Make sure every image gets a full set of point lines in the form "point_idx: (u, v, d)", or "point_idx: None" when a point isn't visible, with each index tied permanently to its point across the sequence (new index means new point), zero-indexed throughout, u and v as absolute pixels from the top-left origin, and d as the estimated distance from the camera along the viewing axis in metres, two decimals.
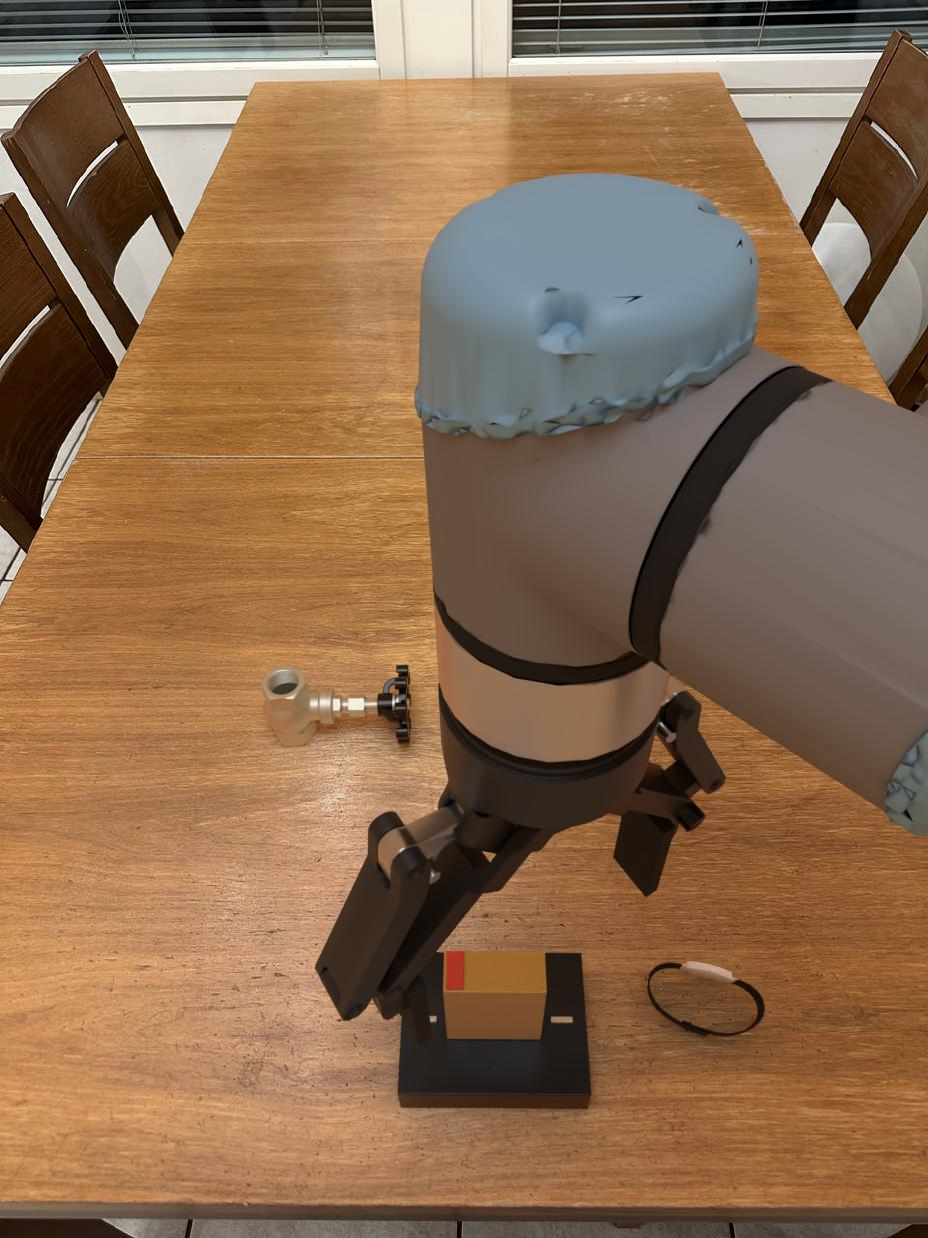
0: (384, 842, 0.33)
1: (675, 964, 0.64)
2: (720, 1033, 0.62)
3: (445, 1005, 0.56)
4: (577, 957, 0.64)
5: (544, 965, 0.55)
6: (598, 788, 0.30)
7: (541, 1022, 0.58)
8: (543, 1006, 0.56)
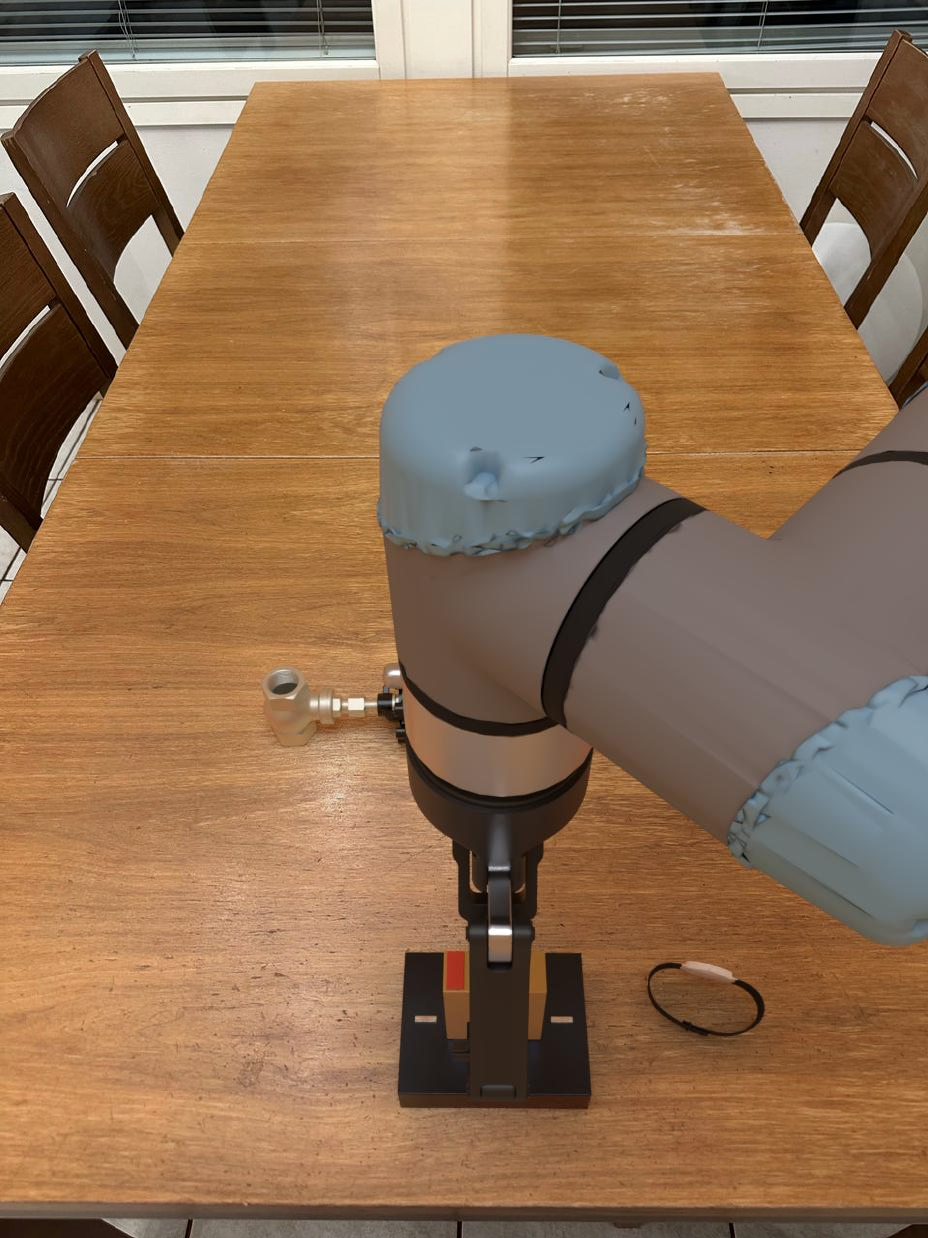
0: (493, 939, 0.36)
1: (675, 964, 0.64)
2: (720, 1033, 0.62)
3: (445, 1005, 0.56)
4: (577, 957, 0.64)
5: (544, 965, 0.55)
6: None
7: (541, 1022, 0.58)
8: (543, 1006, 0.56)
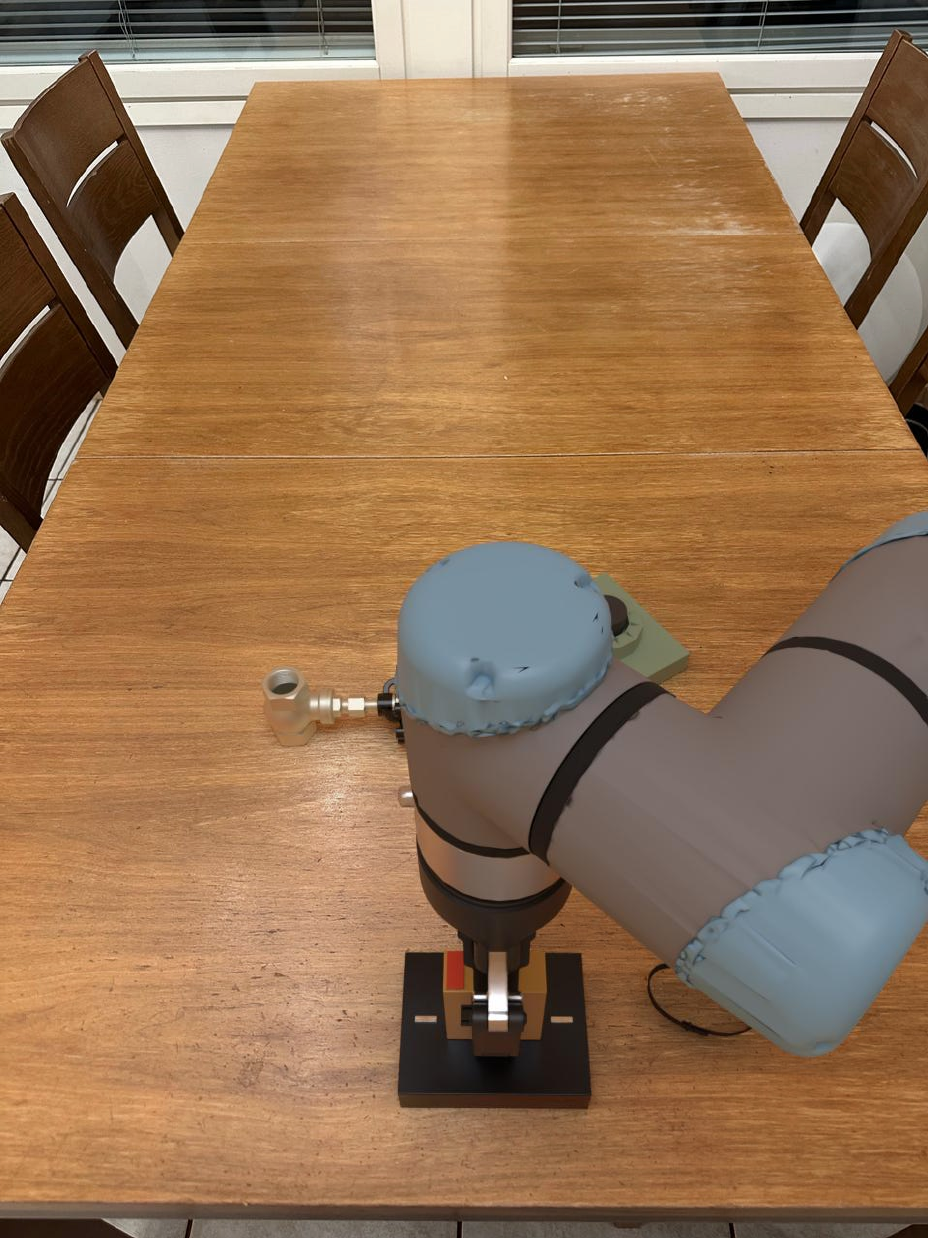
0: (492, 1029, 0.44)
1: None
2: (720, 1033, 0.62)
3: (445, 1005, 0.56)
4: (577, 957, 0.64)
5: (544, 965, 0.55)
6: None
7: (541, 1022, 0.58)
8: (543, 1006, 0.56)
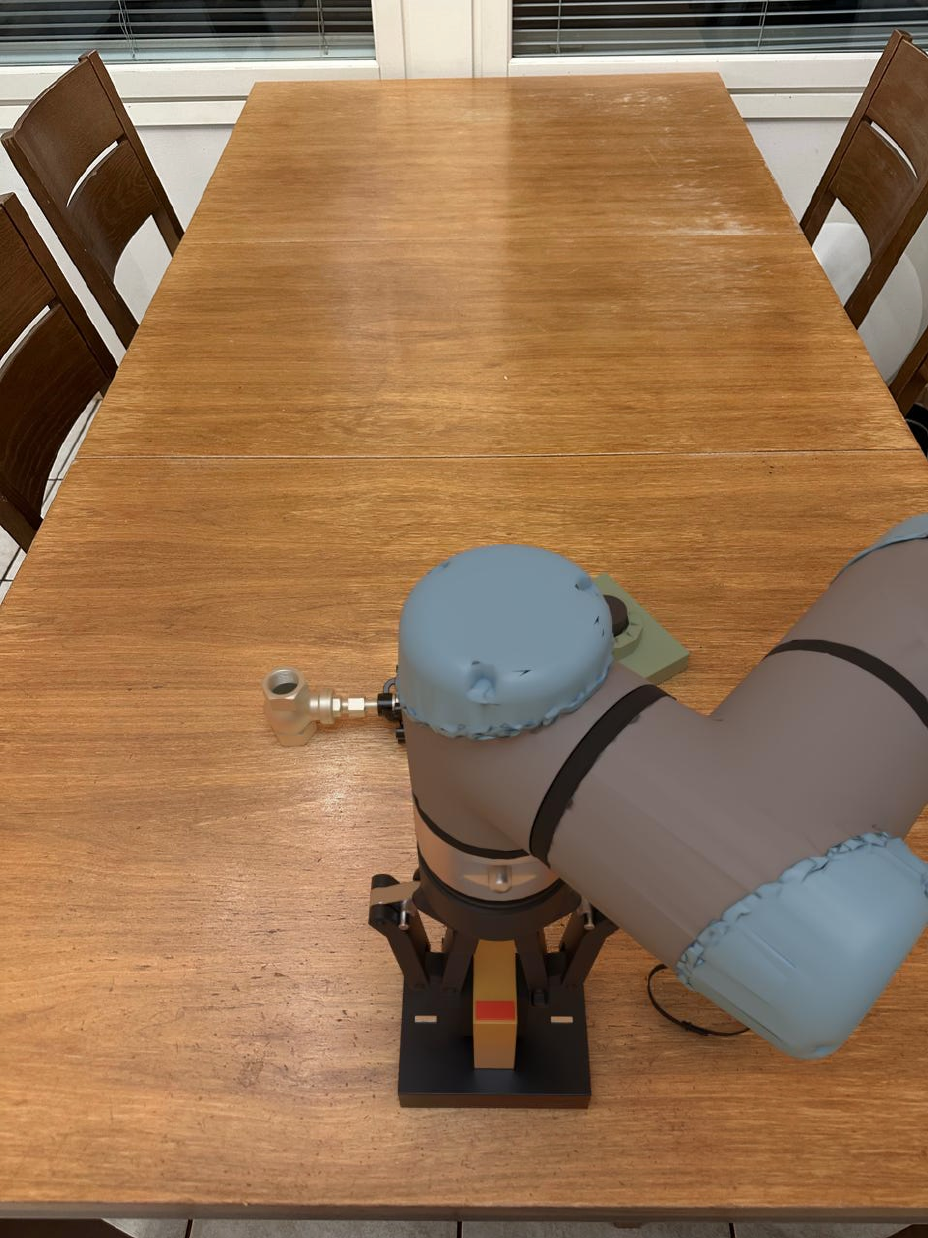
0: None
1: None
2: (720, 1033, 0.62)
3: None
4: None
5: None
6: None
7: None
8: None
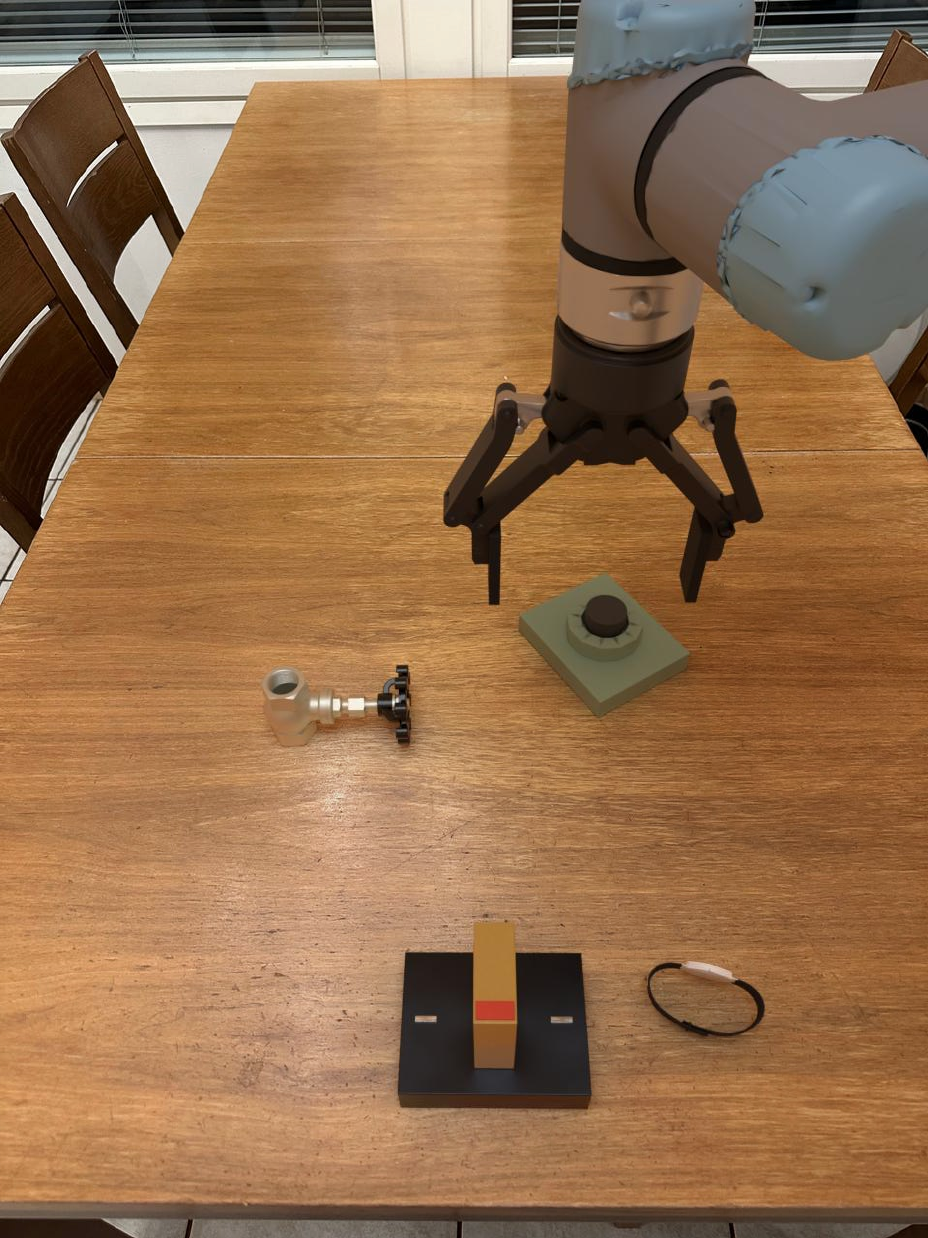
0: (731, 397, 0.54)
1: (675, 964, 0.64)
2: (720, 1033, 0.62)
3: None
4: (577, 957, 0.64)
5: (488, 923, 0.57)
6: None
7: None
8: None
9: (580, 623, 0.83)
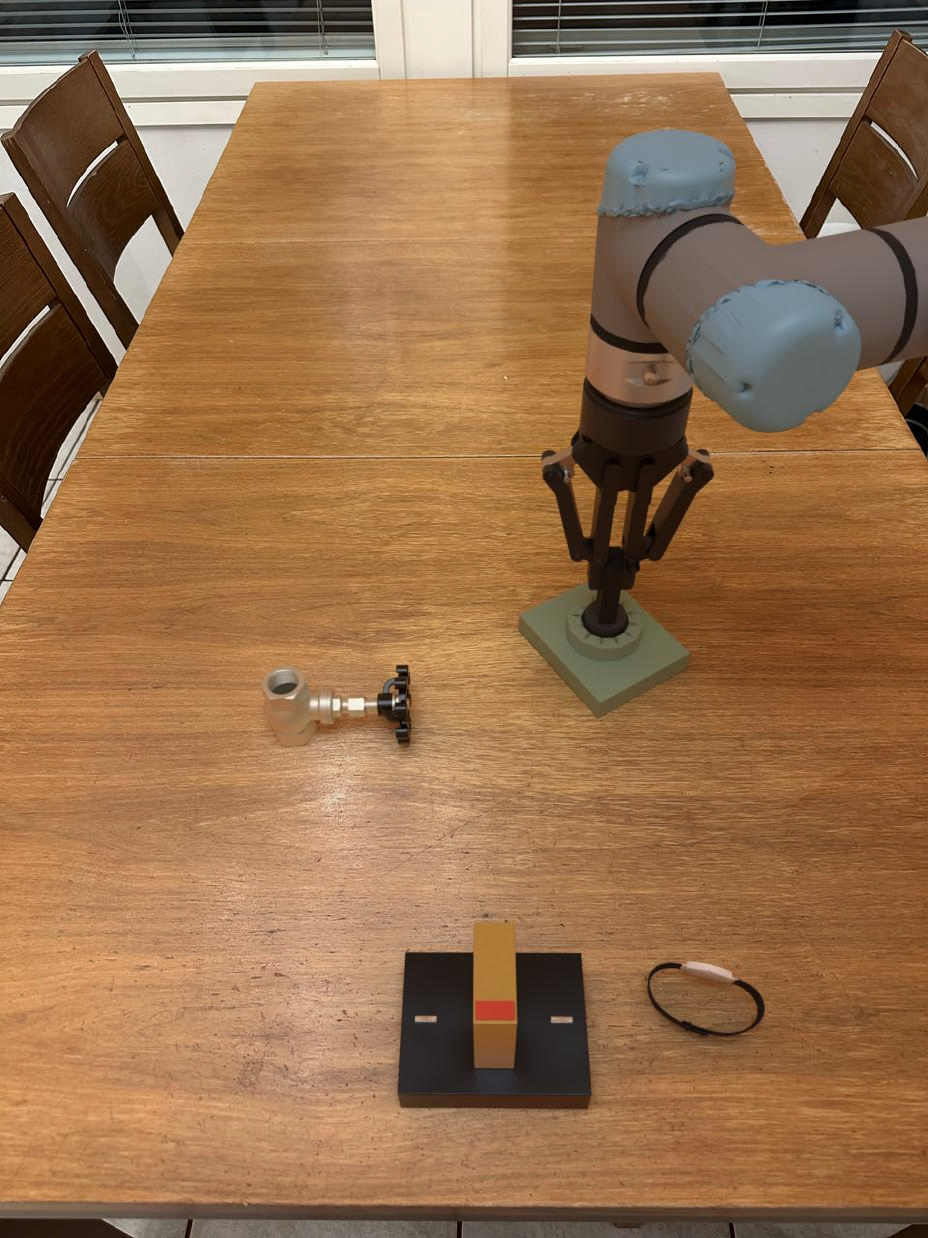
0: (711, 467, 0.70)
1: (675, 964, 0.64)
2: (720, 1033, 0.62)
3: None
4: (577, 957, 0.64)
5: (488, 923, 0.57)
6: None
7: None
8: None
9: (580, 623, 0.83)
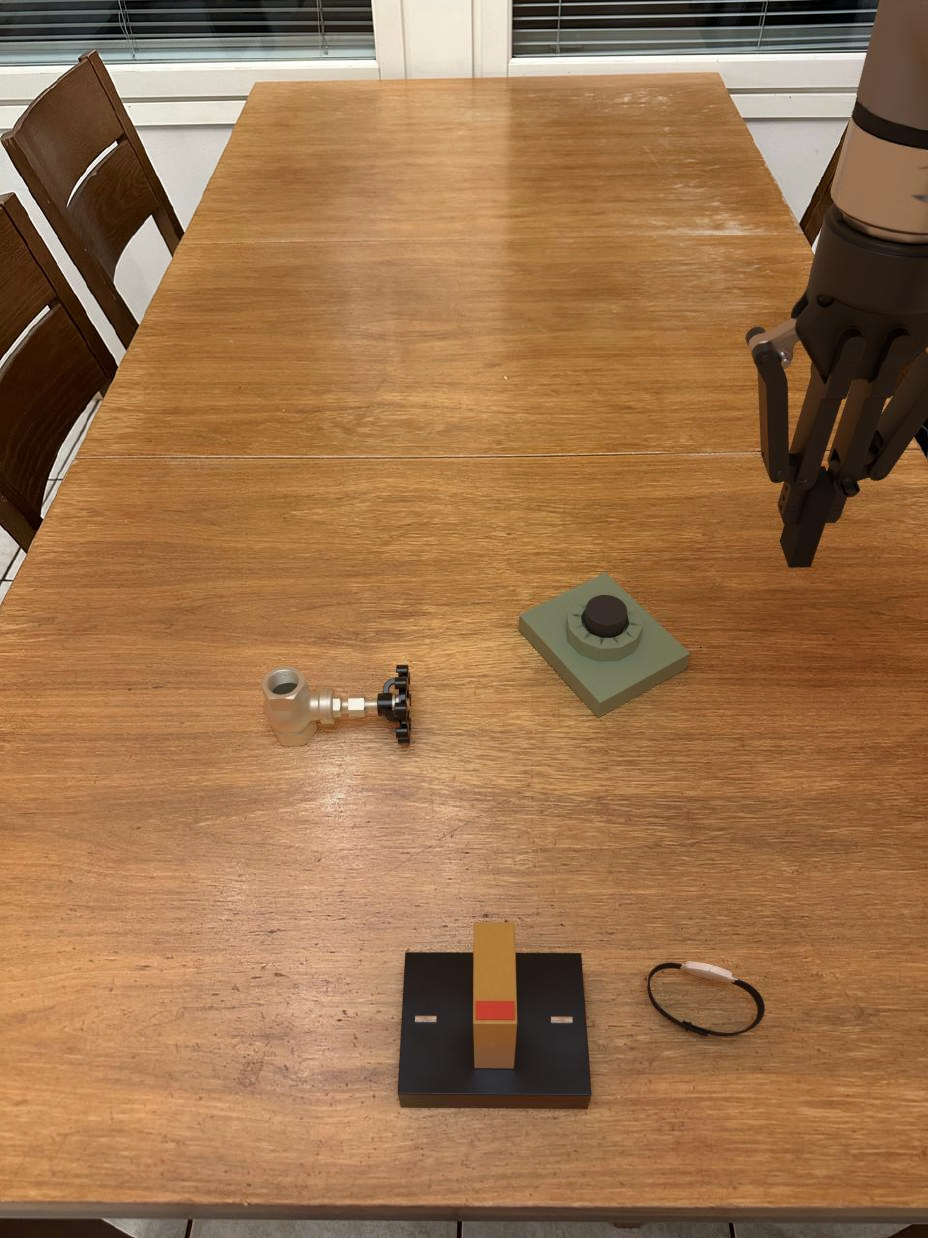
0: None
1: (675, 964, 0.64)
2: (720, 1033, 0.62)
3: None
4: (577, 957, 0.64)
5: (488, 923, 0.57)
6: None
7: None
8: None
9: (580, 623, 0.83)
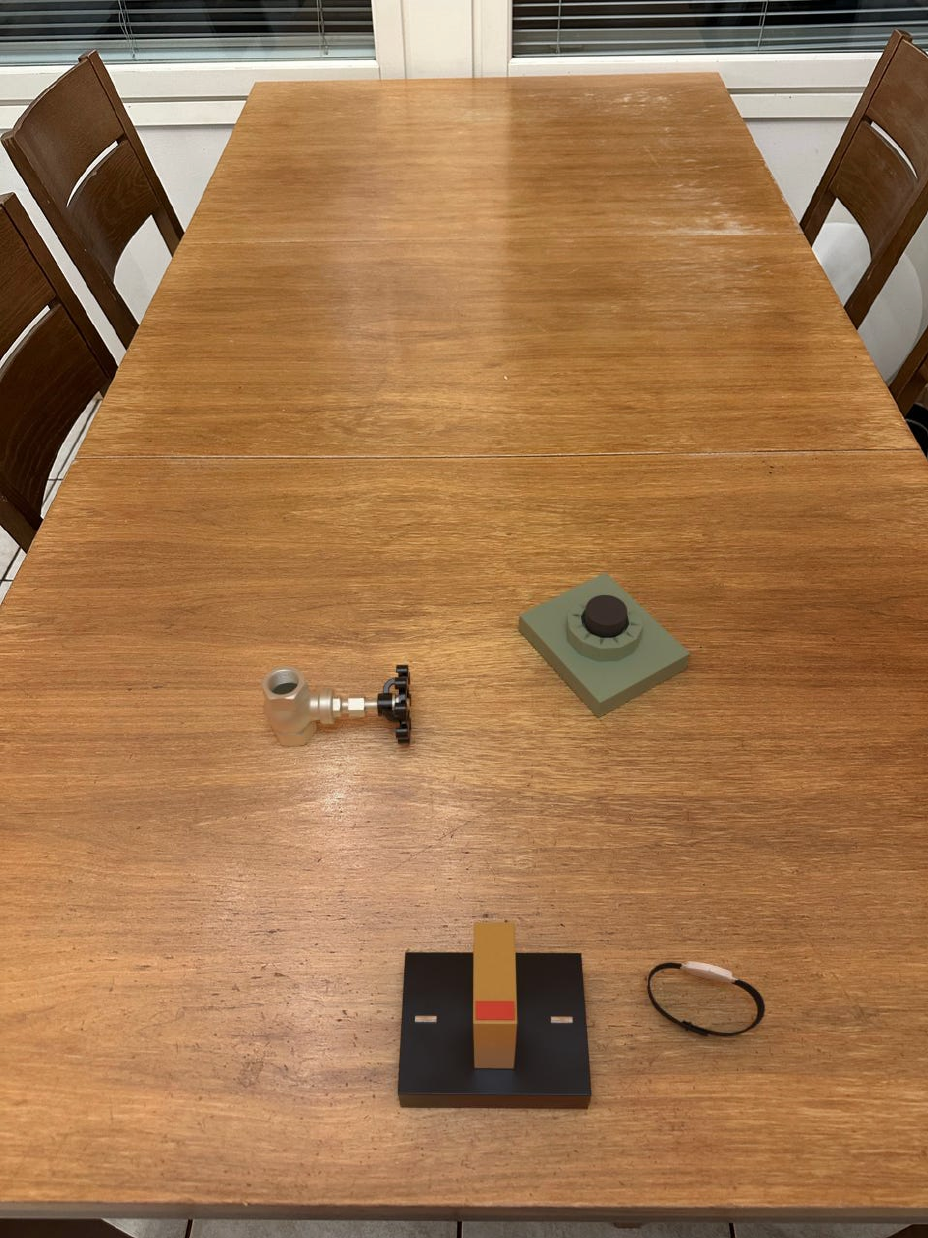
0: None
1: (675, 964, 0.64)
2: (720, 1033, 0.62)
3: None
4: (577, 957, 0.64)
5: (488, 923, 0.57)
6: None
7: None
8: None
9: (580, 623, 0.83)
